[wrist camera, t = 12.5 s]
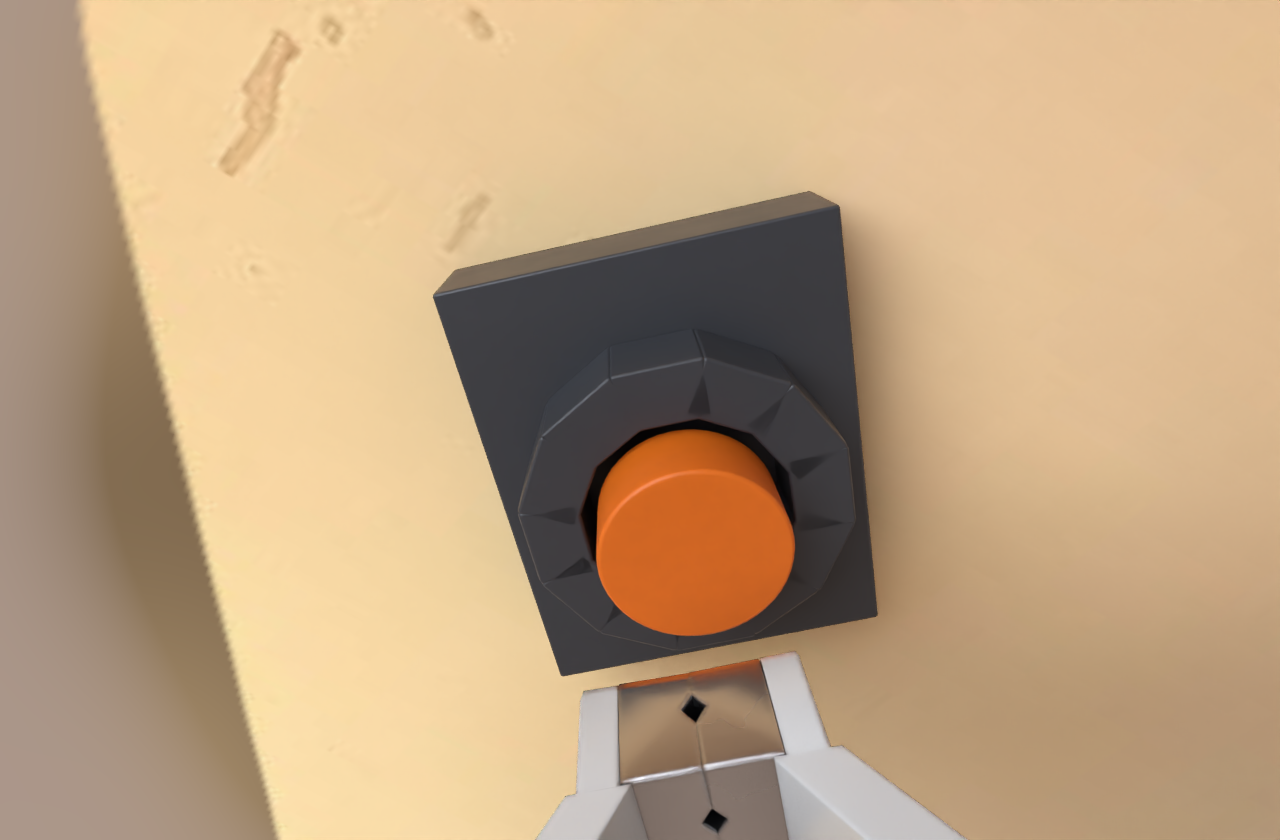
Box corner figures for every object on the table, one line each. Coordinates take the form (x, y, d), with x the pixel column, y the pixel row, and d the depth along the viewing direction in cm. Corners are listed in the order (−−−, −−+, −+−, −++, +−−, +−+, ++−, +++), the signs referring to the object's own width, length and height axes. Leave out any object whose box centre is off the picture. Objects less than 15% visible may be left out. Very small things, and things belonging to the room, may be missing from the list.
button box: (453, 269, 16) (407, 321, 12) (811, 190, 16) (871, 219, 12) (565, 619, 20) (555, 736, 16) (851, 564, 20) (906, 670, 16)
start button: (578, 448, 14) (574, 493, 12) (763, 410, 14) (782, 451, 12) (619, 595, 15) (620, 654, 14) (786, 563, 15) (806, 618, 14)
